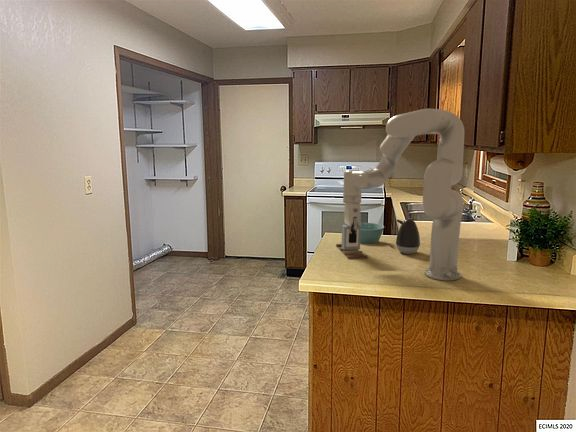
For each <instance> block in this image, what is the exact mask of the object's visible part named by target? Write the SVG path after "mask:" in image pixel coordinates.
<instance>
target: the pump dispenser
mask: <svg viewBox="0 0 576 432" xmlns="http://www.w3.org/2000/svg"><path fill="white" fill-rule="evenodd" d="M396 222H397V223H399V224H400V226H399V229H398V231H397V234H396V241H395V244H396V247H397V250H398V251H399V253H402V254H404V255H405V254H406V255H412V254H415V253H417V252H418V250H419V248H420V246H421V239H420V232H419V227H418V225H417V223H416V222H415V220H414V219H412V218H406V219H404V220H401V219H397V220H396Z"/></svg>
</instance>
